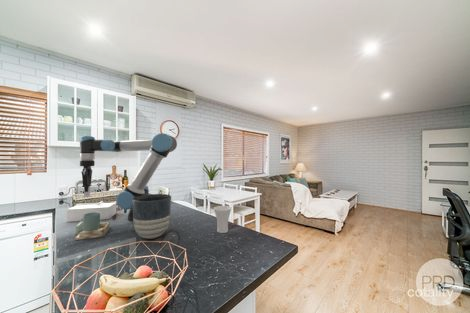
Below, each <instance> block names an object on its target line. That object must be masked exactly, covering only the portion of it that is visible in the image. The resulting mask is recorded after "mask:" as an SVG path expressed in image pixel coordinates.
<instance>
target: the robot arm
mask: <svg viewBox="0 0 470 313" xmlns="http://www.w3.org/2000/svg"><path fill="white" fill-rule="evenodd" d="M79 140H80V142H79V149H80V151H79V155H78V157H79V159H80V160H79V167H83V169H82V171H81V180H82V186H81V187H82V188H83V197H84V198H90V196H91V187H92V177H93V170H92V167H94V166H95V162H96V161H95V156H96V154H95V152H113V153H114V152H115V153H119V152H138V151H150V152H149V154H148V155H147V157H146V158H145V160H144V161H143V163H142V165H141V167H140V168H139V170H138V171H137V173H136V175H135V177H134V178H133V180H132V181H131V183H129V184H127V185H126V186H125V188H124V190H122V191H121V192H119V193H118V195H117V196H116V199H115V200H116V202H115V203H116V206H118V207H119V208H120V209H121V210H125V211H126V210H129V211H128V214H127V221H129V222H130V221H131V222H134V221H133V205H132V199H133V198H135V197H138V196H143V195H150V193H149V192H150V191H149V186H148V183H149V181H150V180H151V179H152V177H153V175H154V174H155V172H156V170H157V168H158V167H159V165H160V164H161V162H162V160H164V159H166V158H167V157H168V155H169V153H171V152H173V151H175V150H176V149H177V147H178V142H177V139H176V138H175V137H174V136H172V135H170V134H167V133H163V132H162V133H160V132H159V133H158V134H155V135H154V136H153V137H152V139H139V140H112V139H109V138H108V139H107V138H105V139H101V138H100V139H96V138H95V136H91V135H82V136H80V138H79Z"/></svg>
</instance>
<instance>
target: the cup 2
mask: <svg viewBox="0 0 470 313" xmlns="http://www.w3.org/2000/svg"><path fill="white" fill-rule="evenodd" d="M213 211H214V214H215V217H216V222H217V225H216V228H217V229H216V232H217V233H220V234H225V233H228V232H229V218H230V214H231V211H232V207H231V206H228V205H218V206H214V207H213Z"/></svg>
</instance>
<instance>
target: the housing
mask: <svg viewBox="0 0 470 313" xmlns="http://www.w3.org/2000/svg"><path fill="white" fill-rule="evenodd" d="M110 225H111V224H110V221H107V222H100V226H99V229H98V230H94V231H86V232H85V231H84V230H82V231H81V232H79V233H78V234H76V236H75V237H74V241H77V240H85V239H93V238H100V237H101V238H102V237H105V236H106V234H107V232H108V231H109V229H110V228H111V227H110Z"/></svg>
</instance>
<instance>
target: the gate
mask: <svg viewBox="0 0 470 313" xmlns="http://www.w3.org/2000/svg"><path fill="white" fill-rule="evenodd" d="M82 230H83V218H82V219H81V221H79V222H78V224H76V225H75V235H78V234H79V233H80V232H81V231H82Z"/></svg>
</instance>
